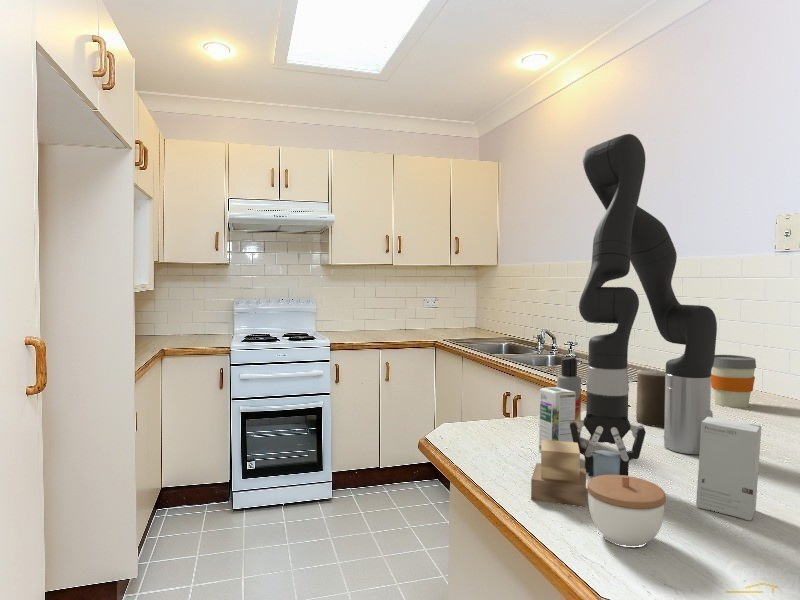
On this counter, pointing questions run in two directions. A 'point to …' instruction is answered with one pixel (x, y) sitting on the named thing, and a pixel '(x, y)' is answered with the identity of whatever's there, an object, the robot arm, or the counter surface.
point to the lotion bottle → (571, 382)
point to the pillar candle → (651, 398)
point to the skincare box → (728, 467)
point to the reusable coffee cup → (732, 380)
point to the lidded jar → (626, 508)
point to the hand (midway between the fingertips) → (605, 476)
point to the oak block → (560, 460)
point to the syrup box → (556, 414)
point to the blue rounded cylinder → (605, 463)
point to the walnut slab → (558, 489)
